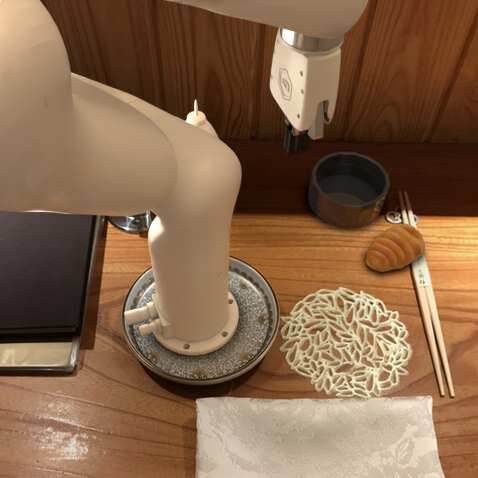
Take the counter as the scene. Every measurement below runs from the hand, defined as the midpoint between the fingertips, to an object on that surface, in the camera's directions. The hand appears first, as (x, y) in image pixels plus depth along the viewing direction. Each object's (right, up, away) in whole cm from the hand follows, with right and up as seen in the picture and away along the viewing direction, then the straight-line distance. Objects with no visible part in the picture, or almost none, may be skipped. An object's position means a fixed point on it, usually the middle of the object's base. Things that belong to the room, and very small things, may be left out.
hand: (295, 149), depth 80 cm
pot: (+10, -4, +14) cm, 17 cm away
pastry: (+16, -14, +8) cm, 23 cm away
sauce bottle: (-14, +1, +6) cm, 16 cm away
